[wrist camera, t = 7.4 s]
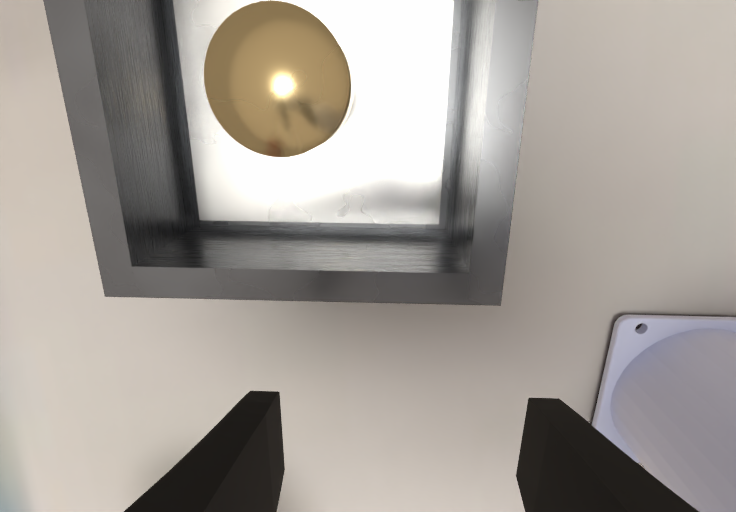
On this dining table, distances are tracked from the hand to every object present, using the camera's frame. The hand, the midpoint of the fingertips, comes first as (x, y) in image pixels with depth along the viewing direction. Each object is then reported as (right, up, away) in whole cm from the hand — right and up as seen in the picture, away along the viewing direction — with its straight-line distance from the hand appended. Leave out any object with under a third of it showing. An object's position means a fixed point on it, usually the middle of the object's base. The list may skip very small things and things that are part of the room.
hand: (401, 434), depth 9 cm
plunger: (-2, +10, +6) cm, 12 cm away
